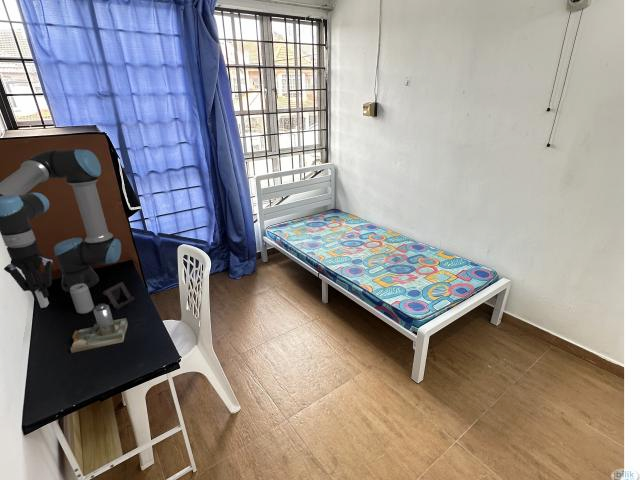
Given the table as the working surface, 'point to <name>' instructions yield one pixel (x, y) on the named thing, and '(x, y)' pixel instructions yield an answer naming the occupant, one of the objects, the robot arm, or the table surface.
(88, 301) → the beverage can
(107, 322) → the metal bottle
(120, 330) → the dock mount
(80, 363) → the table surface
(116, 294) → the dark hollow square block
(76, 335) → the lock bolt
